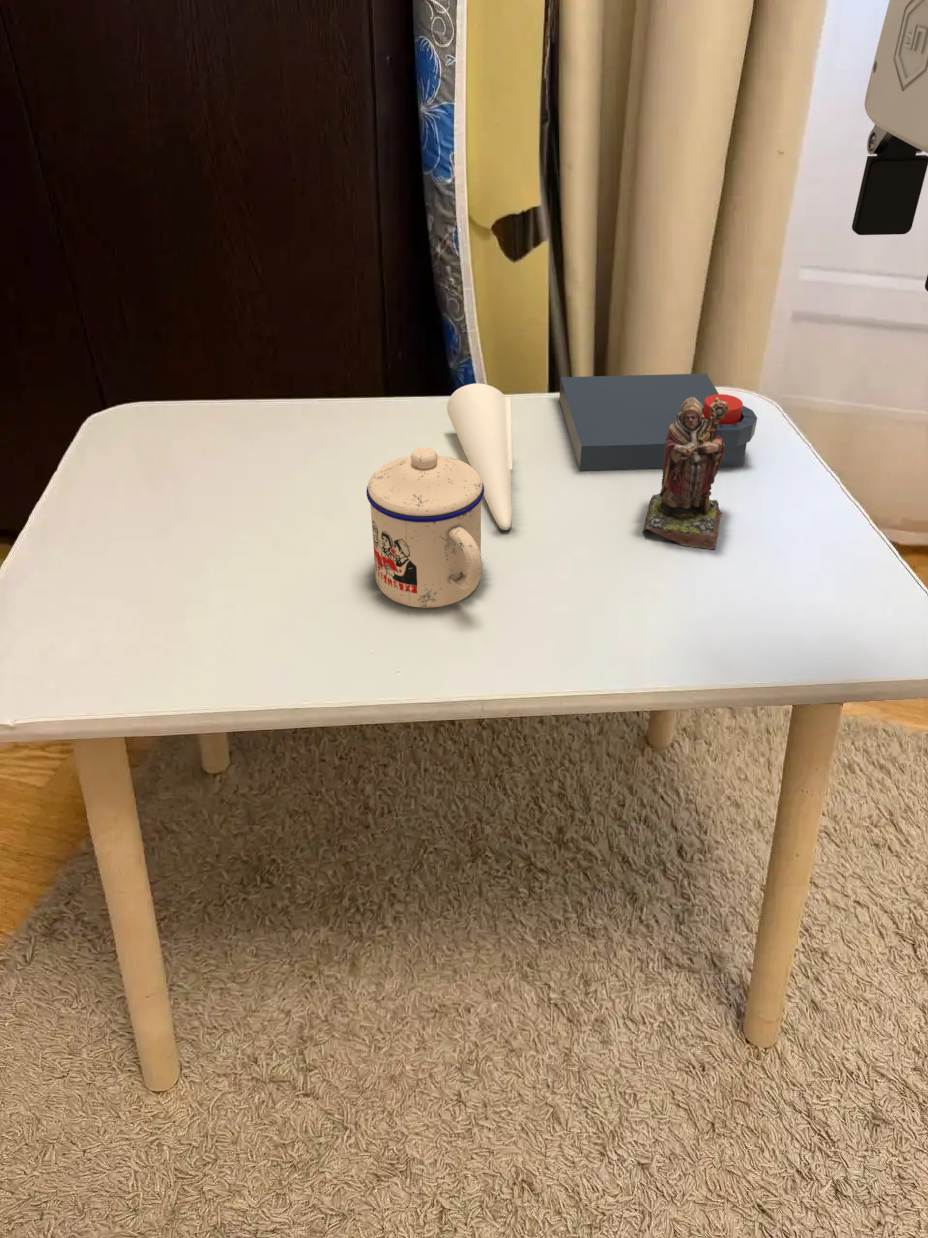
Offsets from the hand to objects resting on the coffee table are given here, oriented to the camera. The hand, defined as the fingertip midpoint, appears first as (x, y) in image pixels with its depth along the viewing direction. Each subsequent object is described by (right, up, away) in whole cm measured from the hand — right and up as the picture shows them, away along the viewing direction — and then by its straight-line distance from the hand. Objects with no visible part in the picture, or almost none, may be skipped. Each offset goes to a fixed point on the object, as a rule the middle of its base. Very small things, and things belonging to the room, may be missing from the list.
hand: (915, 260), depth 52 cm
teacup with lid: (-26, -16, +29) cm, 42 cm away
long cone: (-22, -5, +43) cm, 49 cm away
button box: (-5, +1, +51) cm, 51 cm away
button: (+1, +1, +44) cm, 44 cm away
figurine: (-4, -11, +36) cm, 38 cm away
